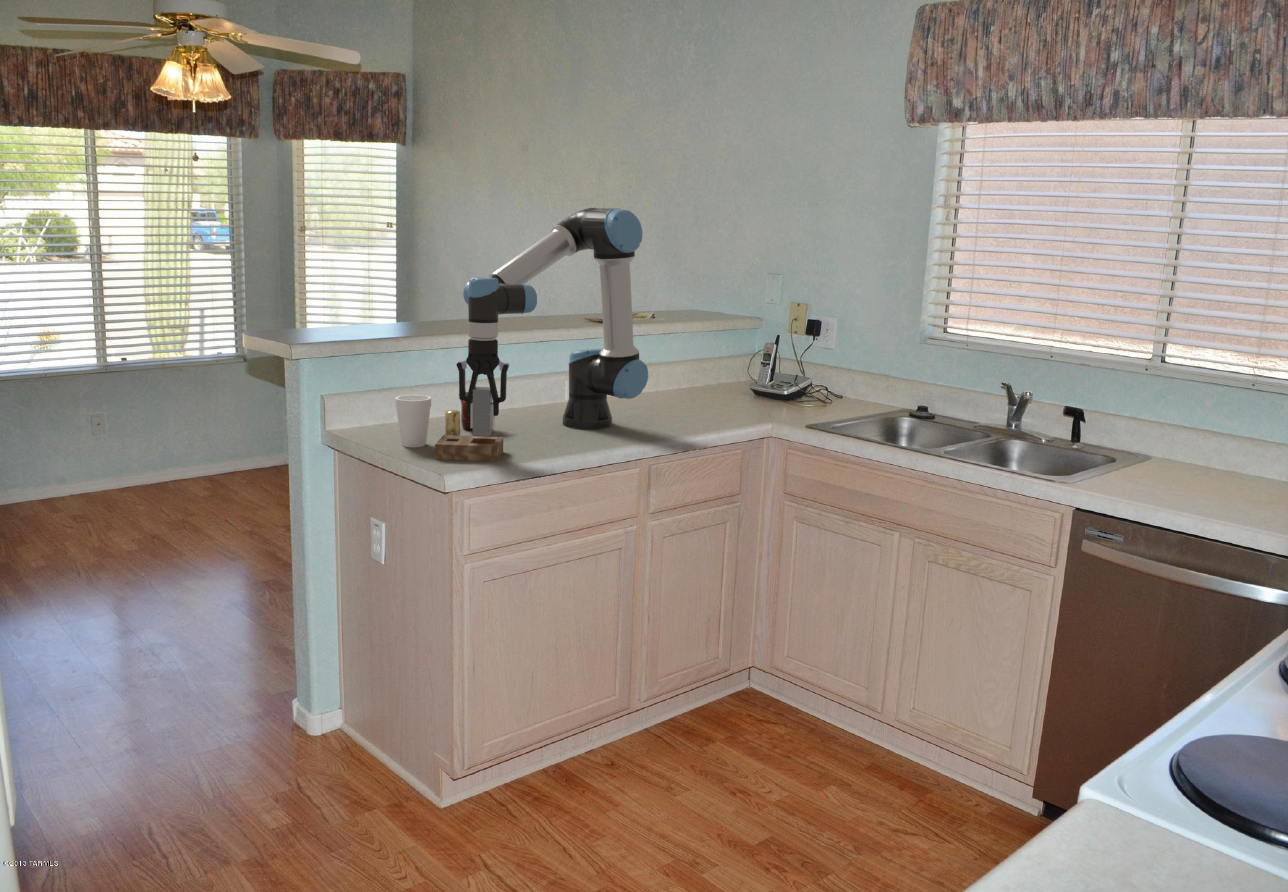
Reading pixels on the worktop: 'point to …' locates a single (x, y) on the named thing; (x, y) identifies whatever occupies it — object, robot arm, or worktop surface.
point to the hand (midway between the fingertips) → (482, 427)
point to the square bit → (481, 411)
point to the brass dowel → (452, 422)
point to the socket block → (469, 448)
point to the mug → (465, 415)
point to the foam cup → (413, 419)
